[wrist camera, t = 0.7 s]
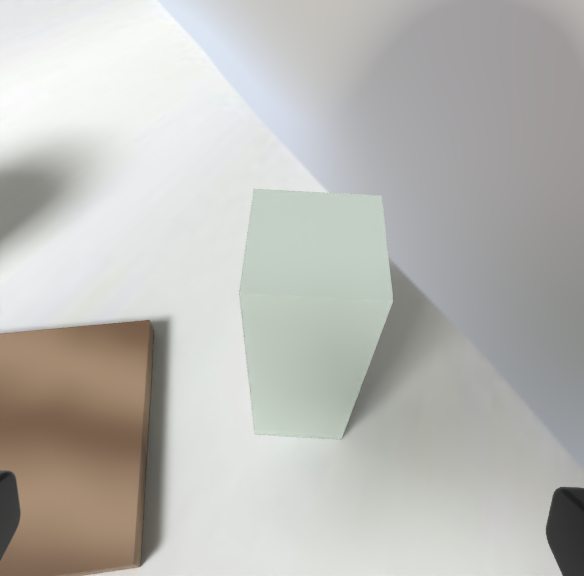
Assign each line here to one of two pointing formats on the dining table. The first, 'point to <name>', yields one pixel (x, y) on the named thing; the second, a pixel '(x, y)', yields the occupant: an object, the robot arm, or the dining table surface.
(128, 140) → the dining table surface
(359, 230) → the pale green square post
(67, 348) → the plate
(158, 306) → the dining table surface
